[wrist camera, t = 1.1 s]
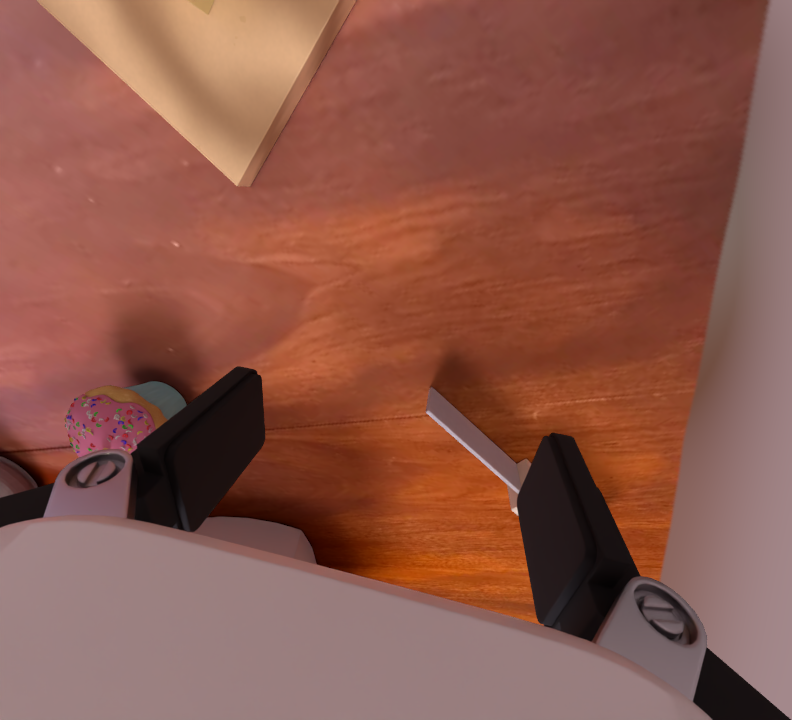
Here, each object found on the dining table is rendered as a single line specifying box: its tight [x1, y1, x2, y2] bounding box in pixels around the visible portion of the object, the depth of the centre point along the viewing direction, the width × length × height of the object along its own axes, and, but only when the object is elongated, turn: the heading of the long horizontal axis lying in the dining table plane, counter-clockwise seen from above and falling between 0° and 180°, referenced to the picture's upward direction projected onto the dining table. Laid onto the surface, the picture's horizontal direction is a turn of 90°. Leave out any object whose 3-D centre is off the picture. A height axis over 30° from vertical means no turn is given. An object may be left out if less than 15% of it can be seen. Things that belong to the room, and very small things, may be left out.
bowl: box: [191, 517, 317, 565], centre depth 36 cm, size 24×25×10 cm
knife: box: [426, 387, 532, 515], centre depth 26 cm, size 19×2×4 cm, turn 47°
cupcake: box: [65, 381, 187, 457], centre depth 26 cm, size 9×8×12 cm
